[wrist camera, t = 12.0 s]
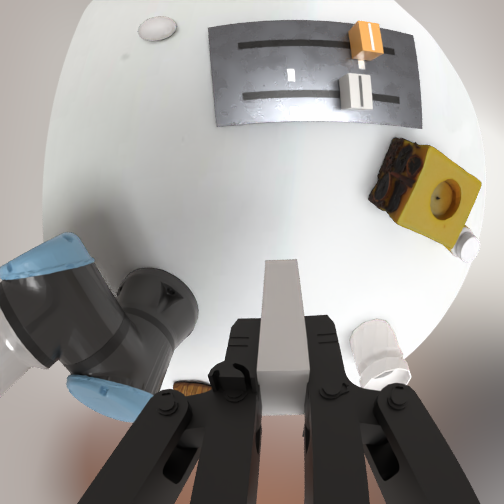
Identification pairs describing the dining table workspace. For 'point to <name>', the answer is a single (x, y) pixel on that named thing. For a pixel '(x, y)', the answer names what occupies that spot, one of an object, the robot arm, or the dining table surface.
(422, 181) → the candle
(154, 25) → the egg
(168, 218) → the dining table surface
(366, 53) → the fader
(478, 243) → the supplement bottle
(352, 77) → the fader
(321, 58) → the console
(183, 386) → the croissant
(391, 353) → the vase
